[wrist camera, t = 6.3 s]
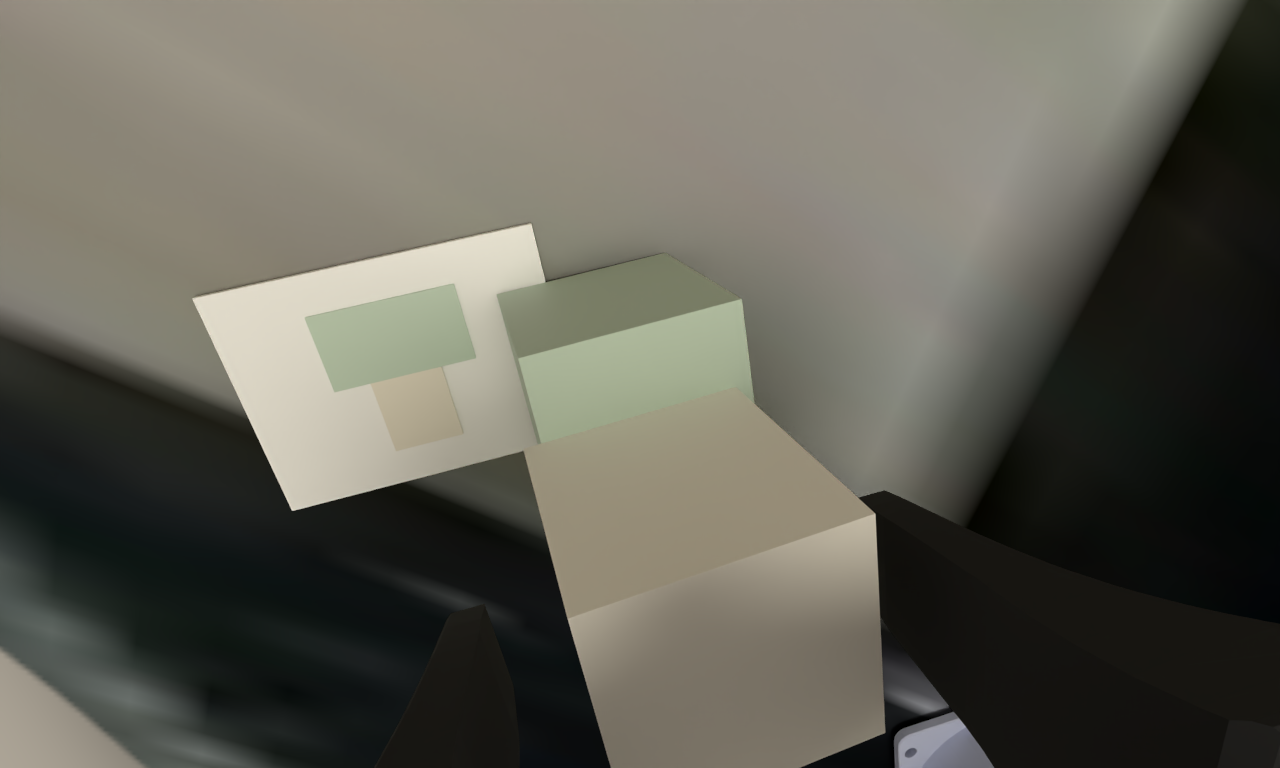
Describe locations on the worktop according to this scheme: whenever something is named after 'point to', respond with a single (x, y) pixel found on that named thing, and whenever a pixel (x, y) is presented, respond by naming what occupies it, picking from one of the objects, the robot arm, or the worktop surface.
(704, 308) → the sage brick
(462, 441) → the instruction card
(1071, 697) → the robot arm
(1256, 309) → the worktop surface
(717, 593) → the ivory brick
